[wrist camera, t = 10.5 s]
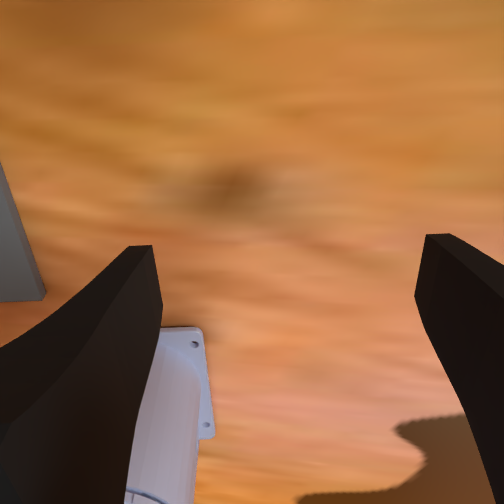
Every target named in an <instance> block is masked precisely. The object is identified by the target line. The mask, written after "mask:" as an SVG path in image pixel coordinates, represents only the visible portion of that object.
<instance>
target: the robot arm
mask: <svg viewBox="0 0 504 504" xmlns="http://www.w3.org/2000/svg"><path fill="white" fill-rule="evenodd" d="M414 297H415V301H416V304H417V307H418V311H419V314H420V317H421V320H422V323H423V326H424V329H425V331H426V333H427V335H428V337H429V339H430V341H431V343H432V345H433V347H434V350H435V352H436V354H437V356H438V358H439V360H440V362H441V364H442V366H443V368H444V370H445V372H446V374H447V376H448V378H449V380H450V382H451V384H452V386H453V388H454V390H455V392H456V394H457V396H458V398H459V400H460V403H461V405H462V407H463V409H464V412H465V414H466V417H467V419H468V422H469V425H470V427H471V430H472V433H473V436H474V438H475V441H476V444H477V447H478V450H479V453H480V456H481V459H482V461H483V464H484V468H485V470H486V474H487V477H488V480H489V482H490V486H491V488H492V492H493V495H494V499H495V502H496V504H504V265H502V264H501V263H499V262H497V261H496V260H494V259H493V258H491V257H489V256H488V255H486V254H484V253H483V252H481V251H479V250H478V249H476V248H475V247H473V246H471V245H470V244H468V243H466V242H465V241H463V240H461V239H459V238H458V237H456V236H454V235H452V234H450V233H448V234H426V237H425V242H424V247H423V253H422V258H421V263H420V268H419V274H418V279H417V284H416V289H415V294H414ZM162 310H163V303H162V297H161V292H160V286H159V281H158V275H157V270H156V265H155V259H154V254H153V248H152V245H143V246H129V247H127V248H126V249H125V250H124V251H123V252H122V253H121V254H120V255H119V256H118V257H116V258H115V259H114V260H113V261H112V262H111V263H110V264H109V265H108V266H107V267H106V268H105V269H104V270H103V271H102V272H101V273H100V274H99V275H97V276H96V277H95V278H94V279H93V280H92V281H91V282H90V283H89V284H88V285H87V286H85V287H84V288H83V289H82V290H81V291H80V292H78V293H77V294H76V295H75V296H74V297H72V298H71V299H70V300H69V301H68V302H66V303H65V304H64V305H63V306H62V307H60V308H59V309H58V310H57V311H55V312H54V313H53V314H51V315H50V316H49V317H47V318H46V319H44V320H43V321H42V322H40V323H39V324H37V325H36V326H34V327H33V328H31V329H30V330H29V331H27V332H26V333H24V334H23V335H21V336H19V337H18V338H16V339H14V340H13V341H11V342H9V343H8V344H6V345H4V346H3V347H1V348H0V504H193V502H194V492H195V481H196V470H197V460H198V449H199V439H211V438H213V437H214V436H215V423H214V416H213V408H212V400H211V392H210V385H209V377H208V369H207V361H206V353H205V346H204V338H203V332H202V330H201V329H199V328H197V327H177V328H160V327H161V319H162ZM192 341H196V342H198V343H193V342H192Z"/></svg>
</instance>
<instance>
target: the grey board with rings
mask: <svg viewBox="0 0 504 504" xmlns="http://www.w3.org/2000/svg"><path fill="white" fill-rule="evenodd" d="M45 295H46V291H45V288H44V285H43V282H42V279H41V277H40V274H39V271H38V268H37V265H36V262H35V259H34V257H33V254H32V251H31V248H30V245H29V242H28V240H27V237H26V234H25V231H24V228H23V225H22V223H21V220H20V217H19V214H18V211H17V208H16V205H15V203H14V200H13V197H12V194H11V191H10V188H9V186H8V183H7V180H6V177H5V174H4V171H3V169H2V166H1V163H0V302H17V301H42V300H43V298H44V297H45Z"/></svg>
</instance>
